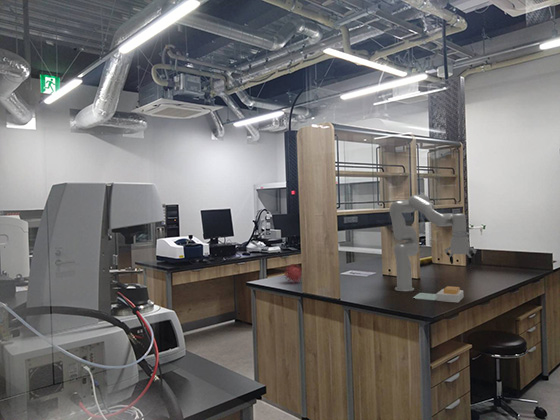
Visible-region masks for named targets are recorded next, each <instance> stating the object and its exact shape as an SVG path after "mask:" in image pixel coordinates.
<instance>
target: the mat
mask: <svg viewBox="0 0 560 420" xmlns="http://www.w3.org/2000/svg"><path fill="white" fill-rule="evenodd" d="M436 294H437V293H426V292H419V293H417V294H416V295H414V296H413V297H412V299H413V298H415V299H416V300H424V301H425V300H427V301H437V300H436ZM415 299H414V300H415Z"/></svg>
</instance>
